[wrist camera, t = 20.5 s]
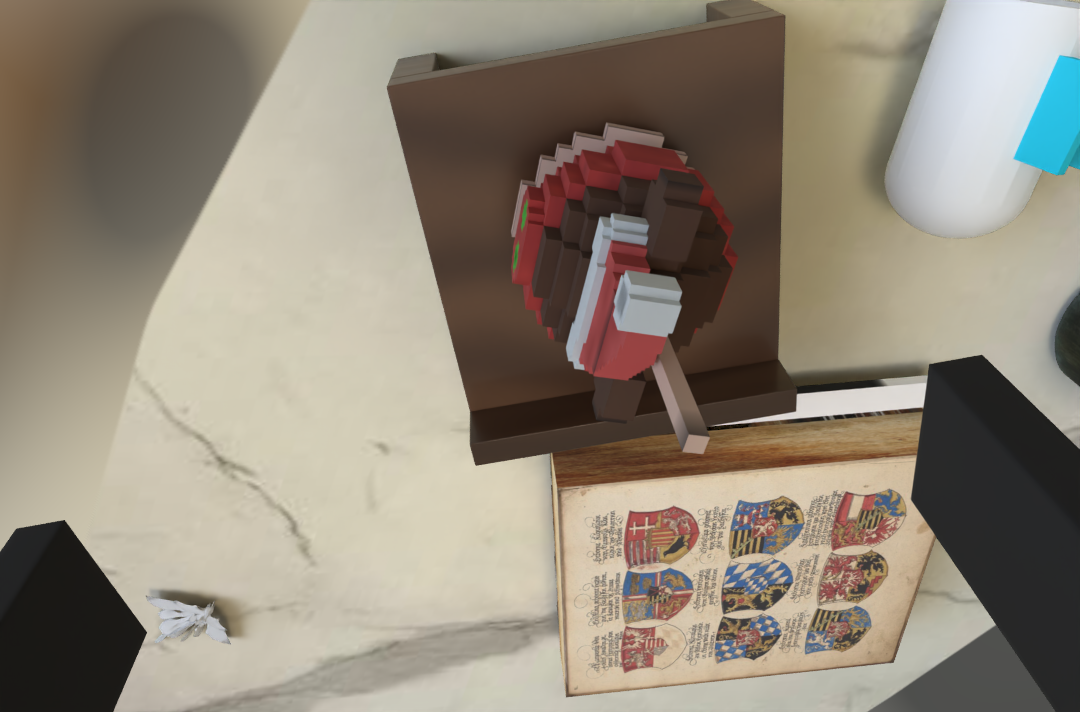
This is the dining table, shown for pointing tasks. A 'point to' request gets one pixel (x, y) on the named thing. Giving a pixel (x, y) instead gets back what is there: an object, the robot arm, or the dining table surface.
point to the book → (743, 545)
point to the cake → (624, 266)
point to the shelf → (513, 155)
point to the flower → (187, 620)
